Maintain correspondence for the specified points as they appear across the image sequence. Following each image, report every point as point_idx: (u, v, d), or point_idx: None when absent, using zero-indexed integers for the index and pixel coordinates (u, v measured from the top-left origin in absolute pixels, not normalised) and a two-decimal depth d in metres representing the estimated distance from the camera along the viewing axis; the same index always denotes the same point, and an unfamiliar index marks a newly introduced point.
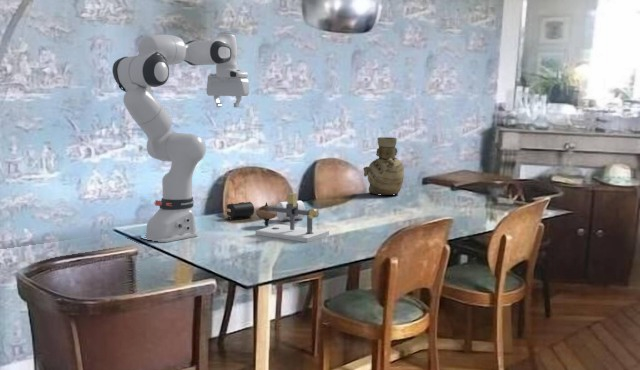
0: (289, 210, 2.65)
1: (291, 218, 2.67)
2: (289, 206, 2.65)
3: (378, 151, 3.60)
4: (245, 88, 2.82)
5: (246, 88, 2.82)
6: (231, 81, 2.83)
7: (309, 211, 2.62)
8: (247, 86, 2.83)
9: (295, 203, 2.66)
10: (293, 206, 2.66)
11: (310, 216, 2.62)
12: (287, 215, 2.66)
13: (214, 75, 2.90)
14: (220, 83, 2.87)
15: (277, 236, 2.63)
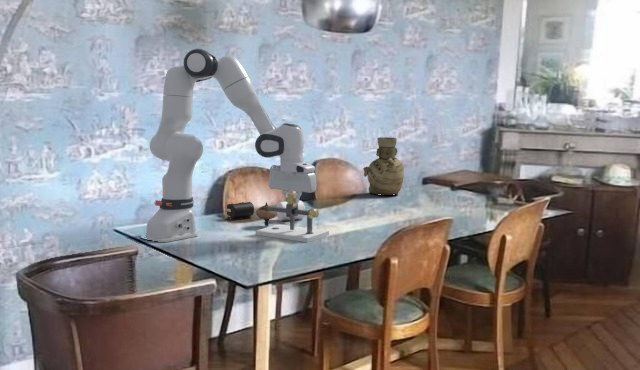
0: (289, 210, 2.65)
1: (291, 218, 2.67)
2: (289, 206, 2.65)
3: (378, 151, 3.60)
4: (313, 184, 2.60)
5: (314, 184, 2.61)
6: (297, 176, 2.62)
7: (309, 211, 2.62)
8: (315, 181, 2.61)
9: (295, 203, 2.67)
10: (293, 206, 2.66)
11: (310, 216, 2.62)
12: (287, 215, 2.66)
13: (277, 167, 2.68)
14: (284, 177, 2.65)
15: (277, 236, 2.63)
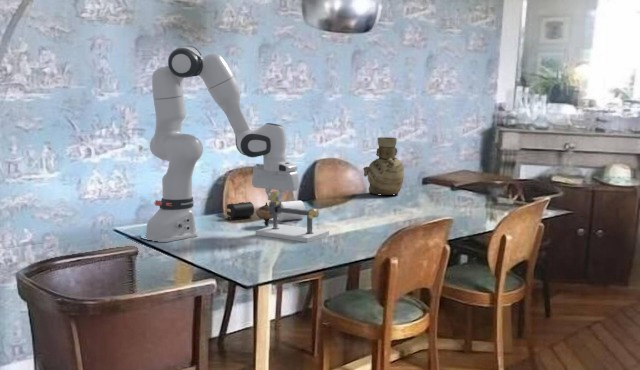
0: (272, 208, 2.69)
1: (274, 216, 2.71)
2: (272, 204, 2.69)
3: (378, 151, 3.60)
4: (295, 182, 2.64)
5: (296, 182, 2.65)
6: (280, 175, 2.66)
7: (309, 211, 2.62)
8: (297, 180, 2.65)
9: (278, 201, 2.71)
10: (276, 204, 2.70)
11: (310, 216, 2.62)
12: (270, 213, 2.70)
13: (260, 166, 2.72)
14: (267, 175, 2.70)
15: (277, 236, 2.63)
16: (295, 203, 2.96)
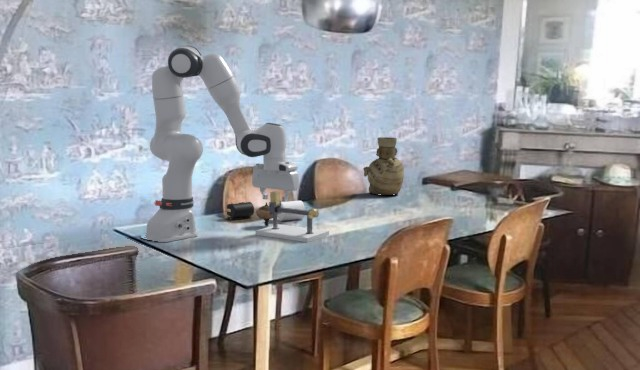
0: (272, 208, 2.70)
1: (274, 216, 2.71)
2: (272, 204, 2.69)
3: (378, 151, 3.60)
4: (295, 182, 2.64)
5: (296, 182, 2.65)
6: (280, 174, 2.66)
7: (309, 211, 2.62)
8: (297, 180, 2.65)
9: (278, 201, 2.71)
10: (276, 204, 2.70)
11: (310, 216, 2.62)
12: (270, 213, 2.70)
13: (260, 166, 2.72)
14: (267, 175, 2.70)
15: (277, 236, 2.63)
16: (295, 203, 2.96)
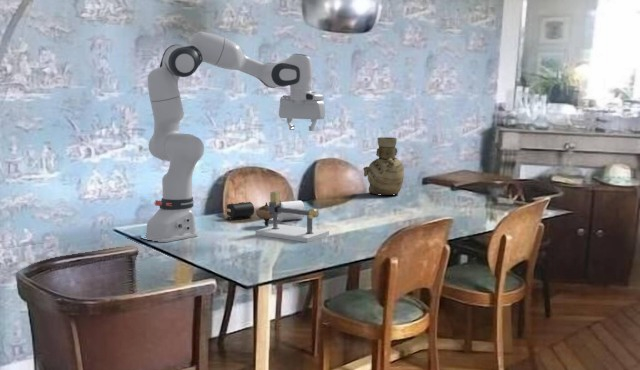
0: (272, 208, 2.70)
1: (274, 216, 2.71)
2: (272, 204, 2.69)
3: (378, 151, 3.60)
4: (321, 111, 2.72)
5: (322, 111, 2.73)
6: (306, 104, 2.74)
7: (309, 211, 2.62)
8: (323, 109, 2.73)
9: (278, 201, 2.71)
10: (276, 204, 2.70)
11: (310, 216, 2.62)
12: (270, 213, 2.70)
13: (287, 97, 2.80)
14: (294, 105, 2.78)
15: (277, 236, 2.63)
16: (295, 203, 2.96)
